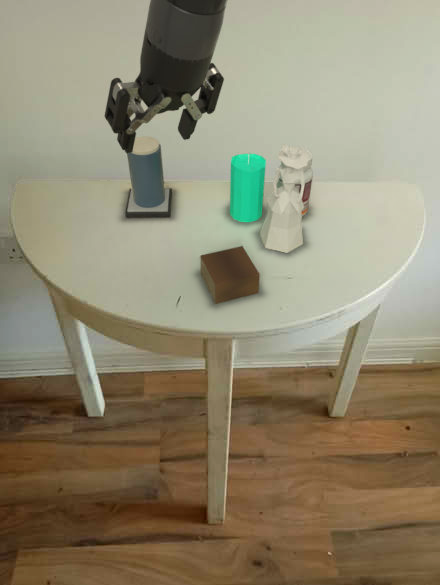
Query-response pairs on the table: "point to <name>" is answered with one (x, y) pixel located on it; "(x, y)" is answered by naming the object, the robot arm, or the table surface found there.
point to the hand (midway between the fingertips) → (155, 141)
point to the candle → (247, 187)
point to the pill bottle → (307, 180)
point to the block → (229, 274)
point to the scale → (153, 212)
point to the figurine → (285, 204)
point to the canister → (146, 172)
